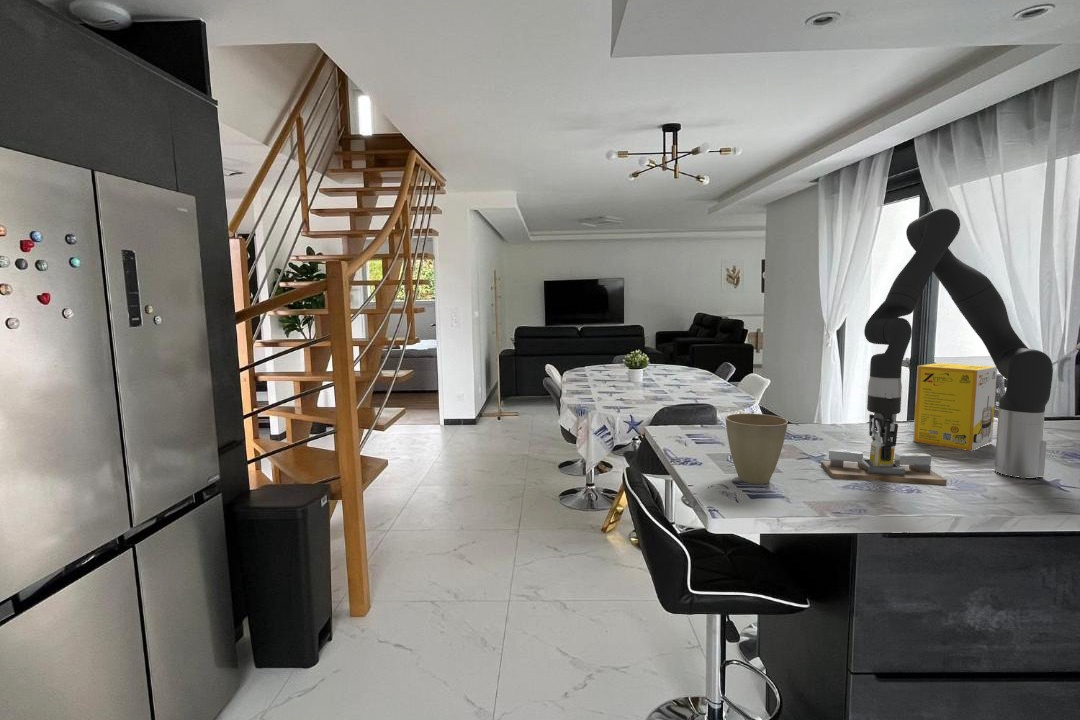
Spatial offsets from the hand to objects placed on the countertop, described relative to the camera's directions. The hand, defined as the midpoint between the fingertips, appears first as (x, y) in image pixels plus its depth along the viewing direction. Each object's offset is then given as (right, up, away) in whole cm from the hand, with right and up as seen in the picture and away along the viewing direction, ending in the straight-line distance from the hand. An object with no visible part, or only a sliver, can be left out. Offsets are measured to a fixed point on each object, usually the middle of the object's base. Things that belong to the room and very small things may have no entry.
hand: (881, 457), depth 150 cm
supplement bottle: (0, -4, 0) cm, 4 cm away
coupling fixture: (0, -3, 0) cm, 4 cm away
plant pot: (-35, -5, -4) cm, 36 cm away
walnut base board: (0, -5, 0) cm, 5 cm away
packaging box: (+44, -2, +35) cm, 56 cm away
